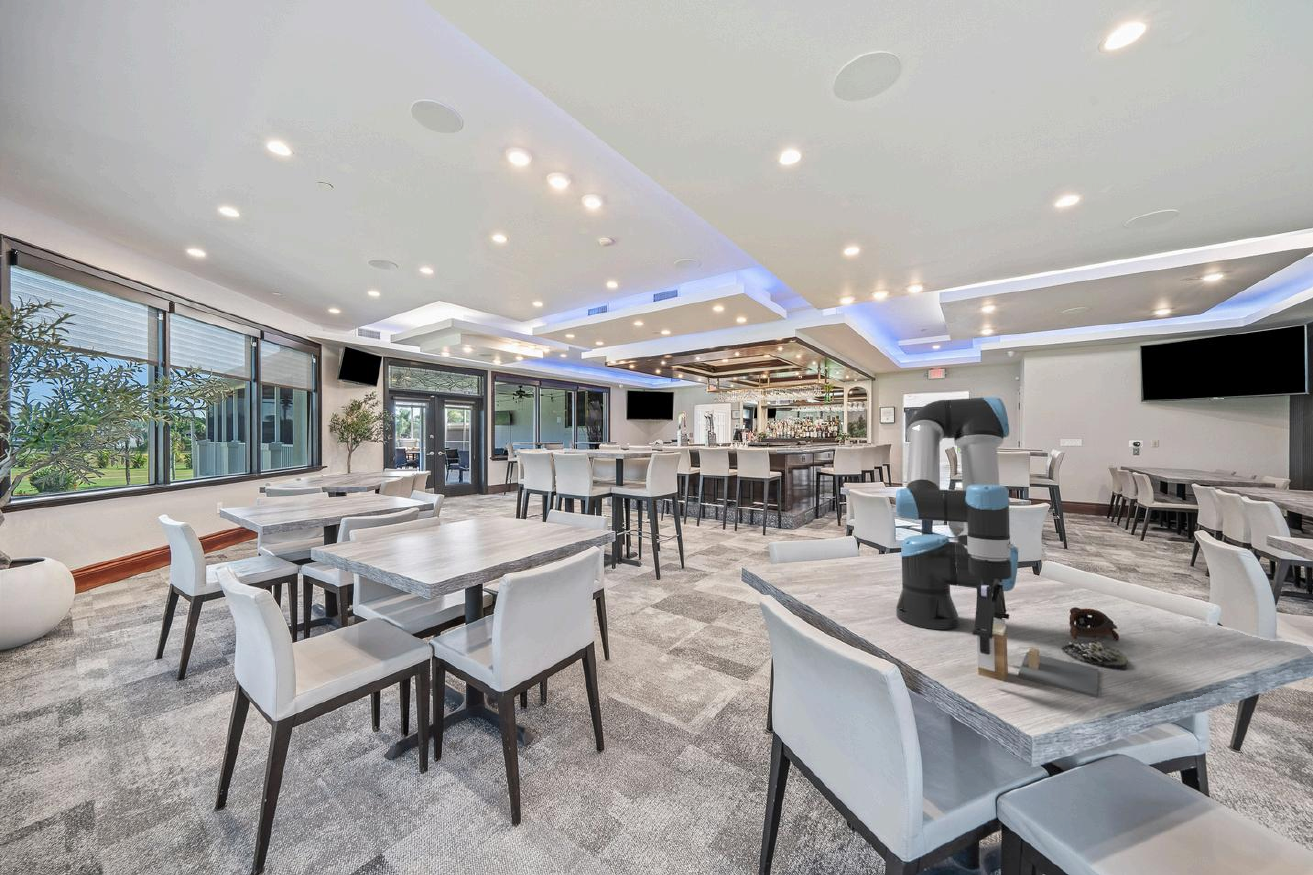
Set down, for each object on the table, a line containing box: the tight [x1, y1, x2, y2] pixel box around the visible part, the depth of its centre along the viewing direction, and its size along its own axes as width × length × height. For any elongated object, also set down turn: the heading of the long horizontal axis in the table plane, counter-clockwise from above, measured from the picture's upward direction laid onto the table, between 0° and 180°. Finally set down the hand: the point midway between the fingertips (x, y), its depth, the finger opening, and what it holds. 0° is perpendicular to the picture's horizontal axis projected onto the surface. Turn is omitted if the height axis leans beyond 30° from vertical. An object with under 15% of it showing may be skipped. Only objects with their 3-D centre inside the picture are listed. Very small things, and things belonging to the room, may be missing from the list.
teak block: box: [977, 624, 1009, 682], centre depth 99 cm, size 4×4×10 cm
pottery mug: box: [1069, 607, 1120, 642], centre depth 116 cm, size 12×10×8 cm
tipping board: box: [1017, 647, 1099, 698], centre depth 98 cm, size 12×14×4 cm
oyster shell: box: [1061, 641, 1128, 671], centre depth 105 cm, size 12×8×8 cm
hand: (992, 657), depth 99 cm, fingers open, 13 cm apart
